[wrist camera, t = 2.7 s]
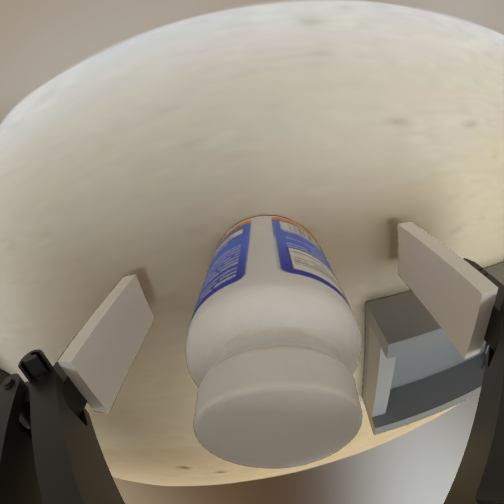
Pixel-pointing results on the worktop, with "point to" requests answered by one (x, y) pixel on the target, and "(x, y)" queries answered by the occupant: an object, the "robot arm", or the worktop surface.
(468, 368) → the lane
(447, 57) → the worktop surface
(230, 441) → the pill bottle
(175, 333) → the worktop surface
